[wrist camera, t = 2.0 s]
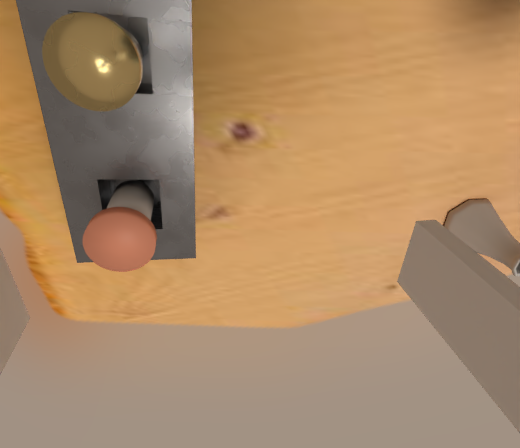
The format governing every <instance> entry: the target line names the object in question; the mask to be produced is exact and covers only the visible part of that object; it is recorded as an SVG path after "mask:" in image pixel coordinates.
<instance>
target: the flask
mask: <svg viewBox="0 0 520 448" xmlns="http://www.w3.org/2000/svg"><path fill="white" fill-rule="evenodd" d="M444 227H445V228H446V229H448V230H449V231H450V232H451V233H453V234H454V235H455V236H456V237H458V238H459V239H460V240H461V241H463V242H464V243H465V244H466V245H468V246H469V247H470V248H471V249H473V250H474V251H475V252H477V253H480V254H483V255H486V256H489V257H491V258H493V259H495V260H497V261H499V262H501V263H503V264H505V265H506V266H507V267H509V268H510V269H511V270H512V273H513V275H514V276H520V243H519V242H518V241H517V240H516V239H515V238H514V237H513V236H512V235H511V234H510V232H509V231H508V229H507V228H506V226H505V225H504V223H503V222H502V220H501V219H500V217H499V216H498V214H497V213H496V211H495V209H494V208H493V206H492V204H491V203H490V201H489V200H488V199H476V200H468V201H466V202H465V203H463V204H461V205H460V206H458V207H457V208H455V209H453V210H452V211H450V212H449V214H448V217H447V219H446V222H445V224H444Z"/></svg>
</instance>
